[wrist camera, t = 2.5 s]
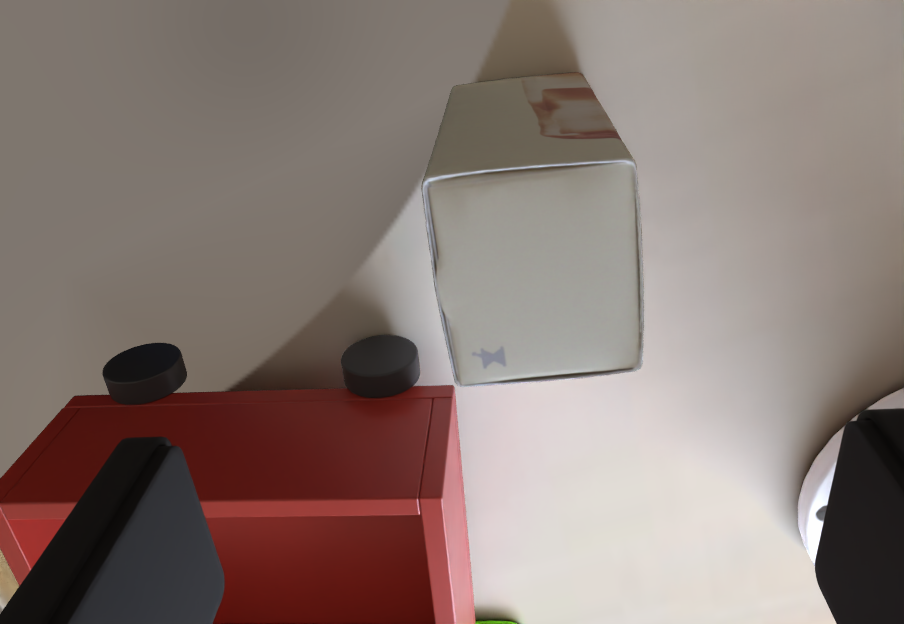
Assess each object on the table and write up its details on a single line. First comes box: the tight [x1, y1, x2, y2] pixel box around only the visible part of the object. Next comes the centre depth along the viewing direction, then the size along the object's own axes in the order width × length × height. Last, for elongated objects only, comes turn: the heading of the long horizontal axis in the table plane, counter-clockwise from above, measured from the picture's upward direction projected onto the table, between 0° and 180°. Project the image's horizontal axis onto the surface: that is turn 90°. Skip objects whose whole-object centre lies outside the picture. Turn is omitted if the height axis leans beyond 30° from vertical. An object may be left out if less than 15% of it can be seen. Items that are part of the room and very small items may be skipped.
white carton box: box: [422, 72, 644, 387], centre depth 20 cm, size 5×4×10 cm
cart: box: [0, 335, 475, 624], centre depth 26 cm, size 14×14×13 cm
